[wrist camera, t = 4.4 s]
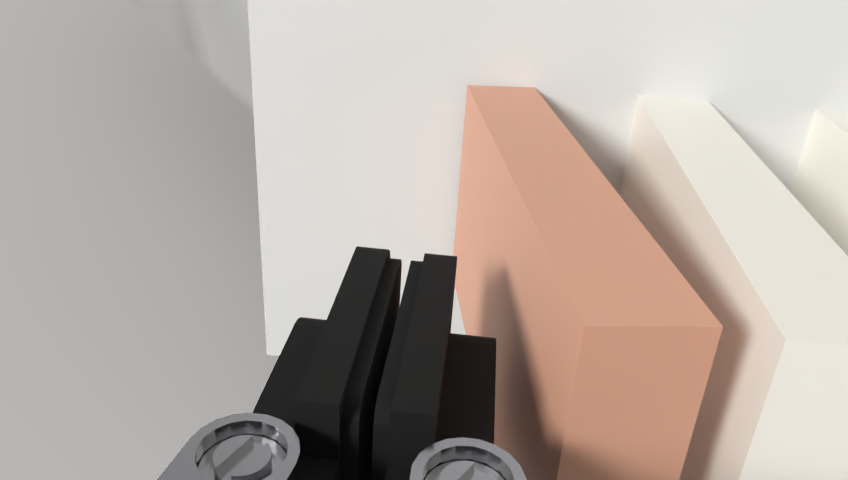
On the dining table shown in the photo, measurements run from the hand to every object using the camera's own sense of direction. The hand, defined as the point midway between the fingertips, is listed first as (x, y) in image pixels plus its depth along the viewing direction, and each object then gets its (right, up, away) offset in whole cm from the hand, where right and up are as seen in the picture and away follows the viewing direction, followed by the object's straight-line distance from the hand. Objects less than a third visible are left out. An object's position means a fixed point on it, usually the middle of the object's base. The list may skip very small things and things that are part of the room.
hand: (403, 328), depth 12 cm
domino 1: (+2, +3, +6) cm, 7 cm away
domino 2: (+6, +3, +6) cm, 9 cm away
